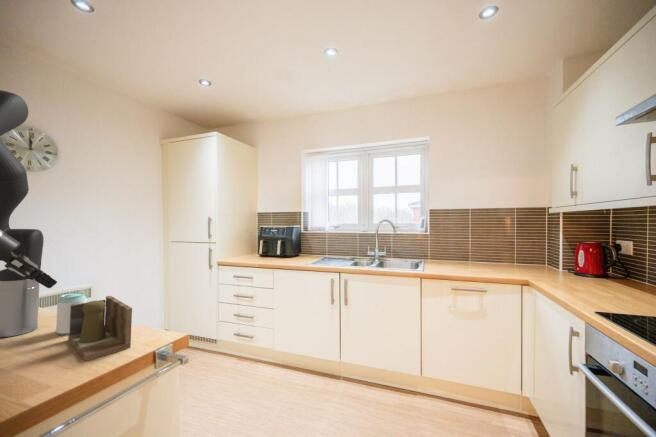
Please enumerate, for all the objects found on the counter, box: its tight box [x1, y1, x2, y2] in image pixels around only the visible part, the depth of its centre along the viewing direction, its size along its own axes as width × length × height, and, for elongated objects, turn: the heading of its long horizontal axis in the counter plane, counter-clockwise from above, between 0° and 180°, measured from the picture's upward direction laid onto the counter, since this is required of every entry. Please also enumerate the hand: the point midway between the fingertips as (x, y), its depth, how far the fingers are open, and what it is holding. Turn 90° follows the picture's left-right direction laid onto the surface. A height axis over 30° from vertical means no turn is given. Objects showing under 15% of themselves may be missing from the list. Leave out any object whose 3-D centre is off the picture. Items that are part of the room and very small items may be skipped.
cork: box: [79, 300, 106, 343], centre depth 80 cm, size 6×6×11 cm
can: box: [55, 292, 88, 335], centre depth 89 cm, size 7×7×12 cm
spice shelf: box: [67, 295, 133, 362], centre depth 81 cm, size 20×10×12 cm, turn 53°
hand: (50, 282), depth 73 cm, fingers open, 8 cm apart
